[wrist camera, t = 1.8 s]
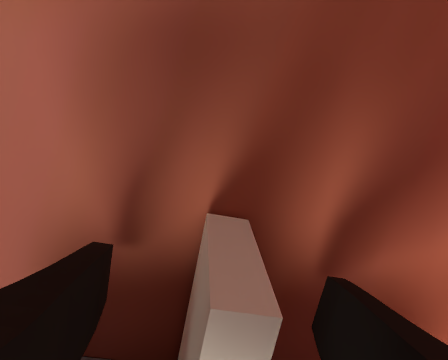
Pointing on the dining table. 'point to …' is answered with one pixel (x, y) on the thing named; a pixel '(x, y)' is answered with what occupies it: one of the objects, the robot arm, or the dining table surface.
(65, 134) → the dining table surface
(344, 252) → the dining table surface
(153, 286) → the dining table surface
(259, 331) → the pale narrow strip
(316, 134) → the dining table surface
